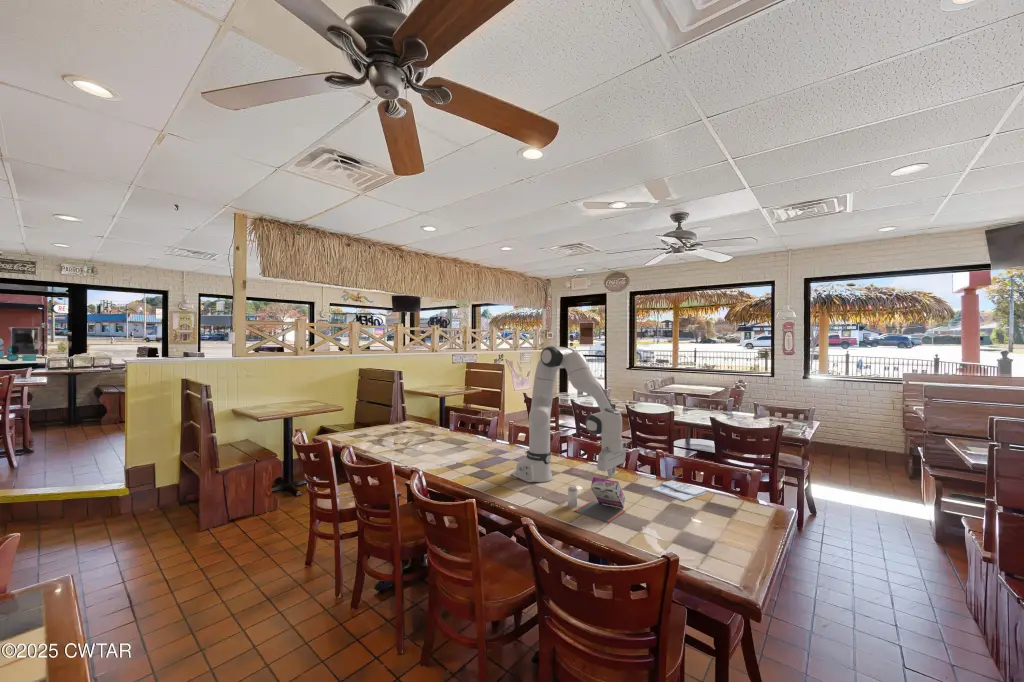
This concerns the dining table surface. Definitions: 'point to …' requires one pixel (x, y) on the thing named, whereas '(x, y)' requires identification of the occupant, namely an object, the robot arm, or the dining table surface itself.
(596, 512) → the bar mat
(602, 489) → the candy bar box
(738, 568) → the dining table surface
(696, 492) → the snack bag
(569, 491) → the salt shaker
